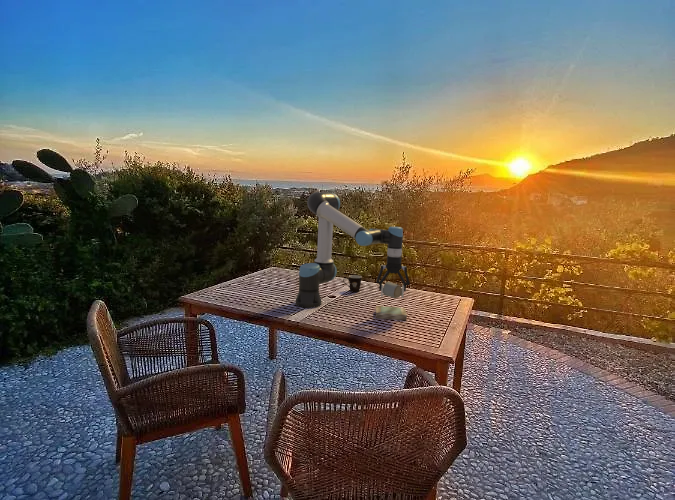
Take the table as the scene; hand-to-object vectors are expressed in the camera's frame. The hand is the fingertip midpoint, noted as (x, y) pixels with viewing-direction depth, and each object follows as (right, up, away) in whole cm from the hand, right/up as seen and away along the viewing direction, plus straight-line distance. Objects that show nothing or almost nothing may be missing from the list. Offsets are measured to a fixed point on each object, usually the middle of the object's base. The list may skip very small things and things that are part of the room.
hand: (392, 296), depth 202 cm
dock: (0, -11, +2) cm, 11 cm away
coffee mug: (-19, -3, +50) cm, 54 cm away
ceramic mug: (+1, 0, +1) cm, 1 cm away
